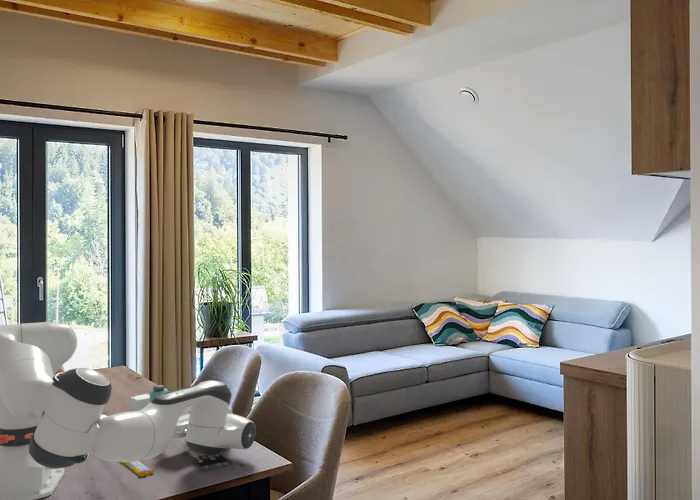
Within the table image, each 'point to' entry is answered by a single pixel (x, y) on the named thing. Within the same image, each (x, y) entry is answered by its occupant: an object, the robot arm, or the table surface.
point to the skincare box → (139, 402)
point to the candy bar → (139, 468)
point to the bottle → (157, 391)
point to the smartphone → (207, 460)
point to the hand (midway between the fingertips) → (177, 416)
